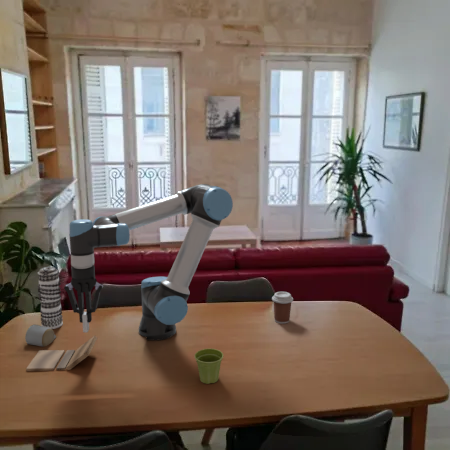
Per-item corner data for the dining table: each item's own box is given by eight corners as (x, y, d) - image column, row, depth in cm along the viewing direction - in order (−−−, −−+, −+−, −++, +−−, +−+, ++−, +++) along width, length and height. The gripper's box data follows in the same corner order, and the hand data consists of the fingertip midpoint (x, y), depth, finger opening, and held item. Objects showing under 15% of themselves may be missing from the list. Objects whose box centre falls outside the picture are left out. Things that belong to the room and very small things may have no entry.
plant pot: (213, 390, 142) (213, 365, 140) (189, 381, 147) (188, 357, 145) (228, 377, 150) (228, 353, 148) (205, 369, 155) (205, 346, 153)
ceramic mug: (43, 350, 168) (42, 331, 166) (25, 347, 170) (24, 328, 169) (61, 339, 178) (60, 320, 176) (44, 336, 180) (42, 318, 179)
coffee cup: (267, 321, 194) (268, 295, 192) (276, 314, 202) (277, 289, 199) (287, 326, 189) (288, 299, 187) (295, 319, 197) (296, 293, 195)
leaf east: (64, 353, 165) (64, 350, 164) (53, 372, 152) (53, 368, 152) (39, 353, 164) (39, 350, 164) (26, 372, 151) (26, 368, 151)
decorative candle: (68, 323, 192) (64, 267, 187) (49, 331, 184) (45, 272, 179) (54, 318, 197) (50, 263, 192) (36, 326, 189) (31, 269, 184)
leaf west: (97, 337, 164) (94, 335, 164) (89, 355, 152) (86, 352, 151) (78, 352, 165) (76, 349, 165) (68, 370, 152) (65, 367, 152)
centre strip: (75, 353, 165) (74, 349, 165) (65, 372, 152) (64, 367, 152) (67, 353, 165) (67, 350, 164) (56, 372, 152) (56, 368, 152)
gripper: (104, 262, 156) (107, 326, 161) (66, 262, 155) (70, 326, 160) (100, 268, 149) (103, 335, 153) (60, 268, 148) (64, 335, 152)
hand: (86, 330), depth 156 cm, fingers closed
